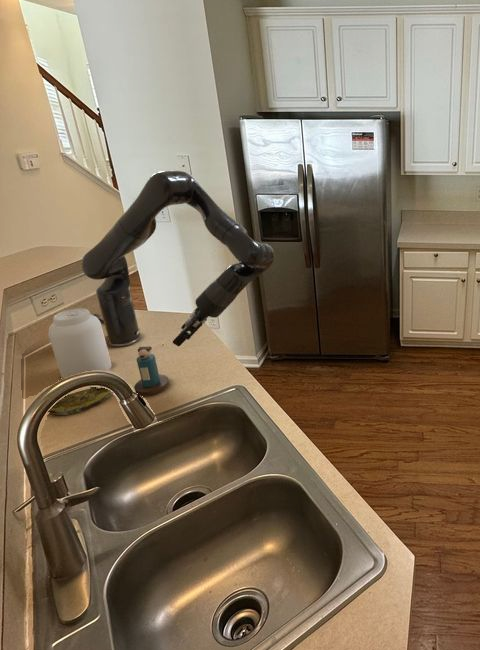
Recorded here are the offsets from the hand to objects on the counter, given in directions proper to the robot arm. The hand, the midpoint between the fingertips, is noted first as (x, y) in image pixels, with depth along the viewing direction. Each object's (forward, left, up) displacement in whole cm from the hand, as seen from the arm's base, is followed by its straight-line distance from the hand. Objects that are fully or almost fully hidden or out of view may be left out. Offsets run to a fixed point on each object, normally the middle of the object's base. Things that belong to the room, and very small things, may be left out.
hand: (180, 336), depth 121 cm
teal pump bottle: (-6, -8, -14) cm, 17 cm away
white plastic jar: (-28, -19, -16) cm, 37 cm away
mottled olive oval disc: (-12, -24, -16) cm, 31 cm away
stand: (-6, -8, -16) cm, 19 cm away
